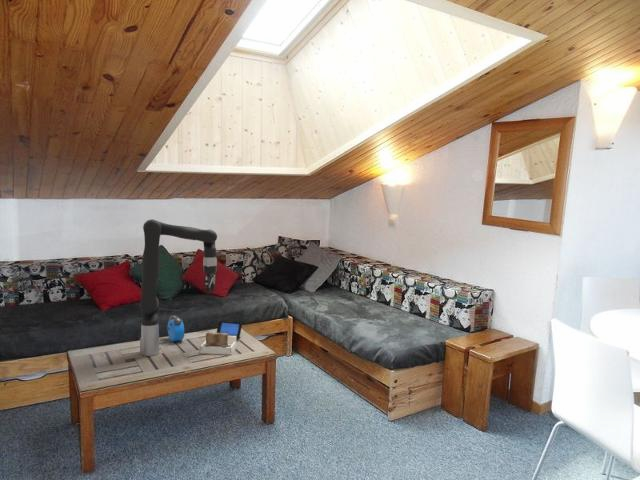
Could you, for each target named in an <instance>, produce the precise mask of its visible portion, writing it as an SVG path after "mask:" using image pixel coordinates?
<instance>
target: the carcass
mask: <svg viewBox="0 0 640 480" xmlns="http://www.w3.org/2000/svg"><path fill="white" fill-rule="evenodd" d="M236 349H237V342H236V336H228V347H227V345H222V347H215V346H209V344H206V339H205V340H204V342H203V343H202V344H201V345H200V346H199V354H205V355H206V354H209V355H212V354H213V355H228V356H229V355H232V354H233V353H234V352H235V351H236Z"/></svg>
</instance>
